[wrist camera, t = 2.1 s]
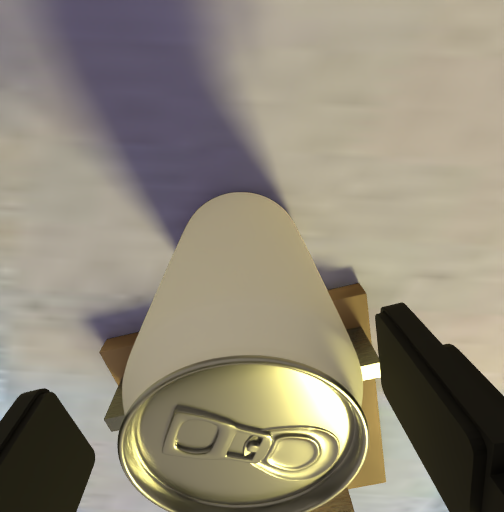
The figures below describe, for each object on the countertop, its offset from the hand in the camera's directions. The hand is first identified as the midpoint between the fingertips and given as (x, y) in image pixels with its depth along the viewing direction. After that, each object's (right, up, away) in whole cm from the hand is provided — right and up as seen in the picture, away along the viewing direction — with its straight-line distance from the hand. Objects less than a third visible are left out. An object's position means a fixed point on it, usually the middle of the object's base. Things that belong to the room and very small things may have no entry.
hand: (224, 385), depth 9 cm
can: (0, +4, +9) cm, 10 cm away
